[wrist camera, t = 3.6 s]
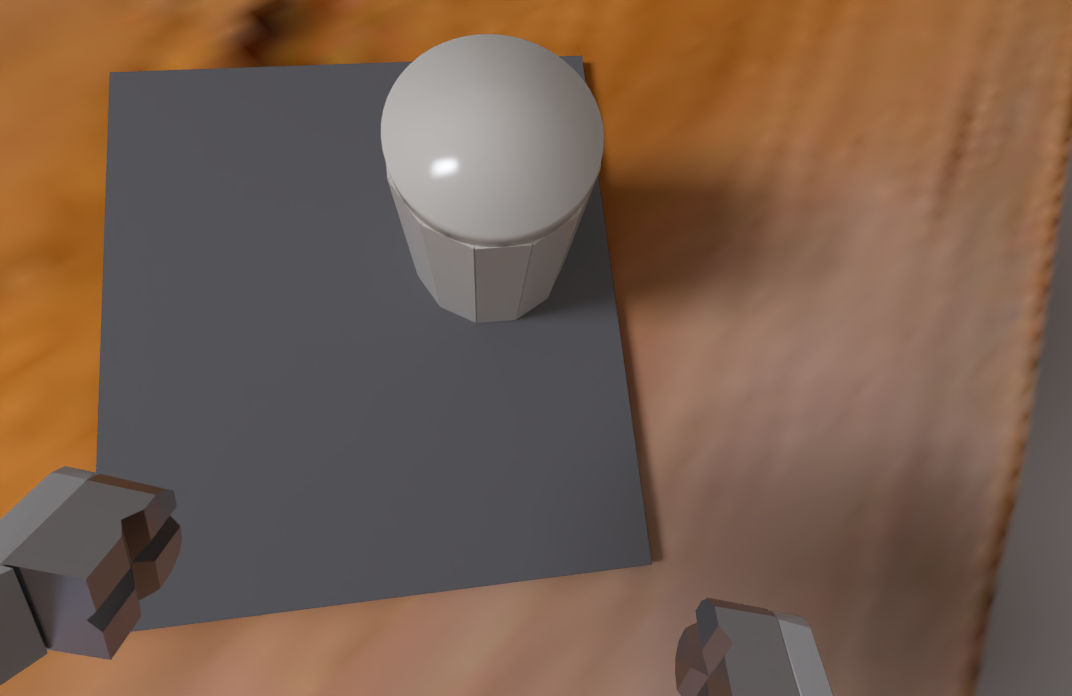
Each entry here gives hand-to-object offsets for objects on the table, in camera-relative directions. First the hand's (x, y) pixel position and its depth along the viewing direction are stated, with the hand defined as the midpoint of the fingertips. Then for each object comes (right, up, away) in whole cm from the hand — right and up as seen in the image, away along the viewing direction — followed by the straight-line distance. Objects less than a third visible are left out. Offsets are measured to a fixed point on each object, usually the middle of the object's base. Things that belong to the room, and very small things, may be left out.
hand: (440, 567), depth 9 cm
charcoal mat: (-5, +5, +15) cm, 17 cm away
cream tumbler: (0, +7, +16) cm, 17 cm away
